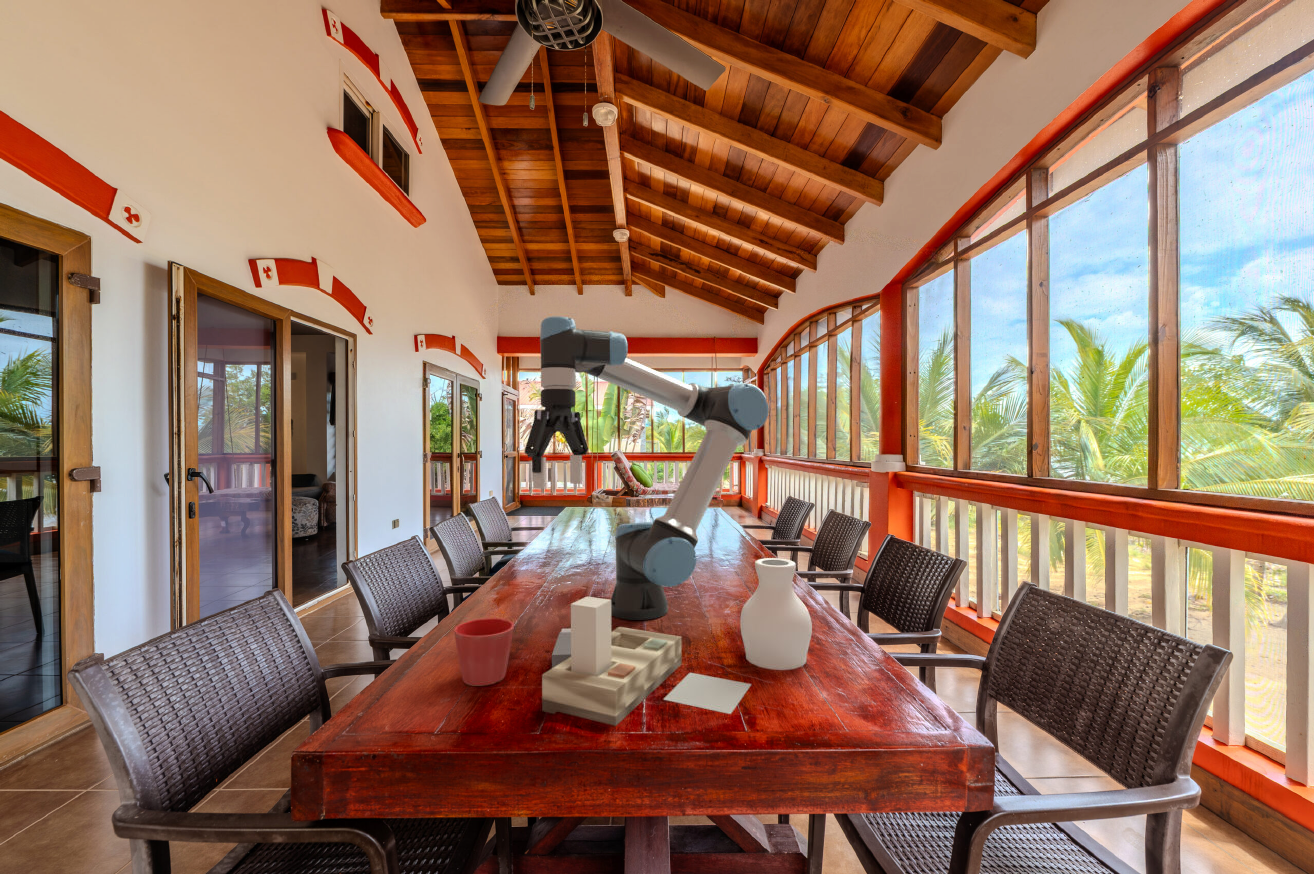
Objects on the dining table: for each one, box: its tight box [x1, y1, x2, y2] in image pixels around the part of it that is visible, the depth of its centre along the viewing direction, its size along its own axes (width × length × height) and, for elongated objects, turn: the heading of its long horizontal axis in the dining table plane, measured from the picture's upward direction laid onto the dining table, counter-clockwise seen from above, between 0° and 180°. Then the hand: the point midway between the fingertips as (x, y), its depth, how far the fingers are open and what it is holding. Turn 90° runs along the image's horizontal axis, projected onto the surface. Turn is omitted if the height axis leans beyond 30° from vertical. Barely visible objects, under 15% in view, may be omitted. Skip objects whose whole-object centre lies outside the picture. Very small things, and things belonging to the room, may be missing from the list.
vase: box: [740, 557, 813, 671], centre depth 114 cm, size 14×14×20 cm
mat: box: [663, 672, 752, 715], centre depth 99 cm, size 12×12×1 cm
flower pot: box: [453, 618, 515, 687], centre depth 106 cm, size 11×11×10 cm
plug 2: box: [570, 596, 612, 677], centre depth 97 cm, size 5×5×15 cm
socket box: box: [541, 626, 682, 727], centre depth 102 cm, size 26×14×6 cm, turn 154°
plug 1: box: [551, 627, 571, 669], centre depth 113 cm, size 15×5×5 cm, turn 3°
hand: (558, 486), depth 123 cm, fingers open, 13 cm apart
